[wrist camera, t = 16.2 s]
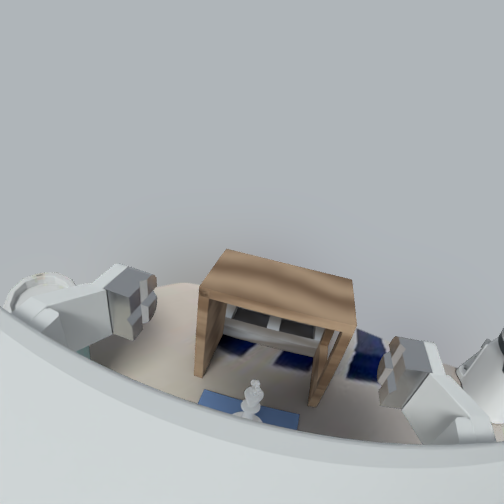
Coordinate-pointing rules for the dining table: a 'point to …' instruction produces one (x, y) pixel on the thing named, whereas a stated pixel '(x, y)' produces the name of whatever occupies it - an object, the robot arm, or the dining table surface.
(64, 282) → the disposable coffee cup
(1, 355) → the robot arm
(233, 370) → the dining table surface
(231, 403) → the mat
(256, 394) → the chess piece
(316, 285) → the tunnel
